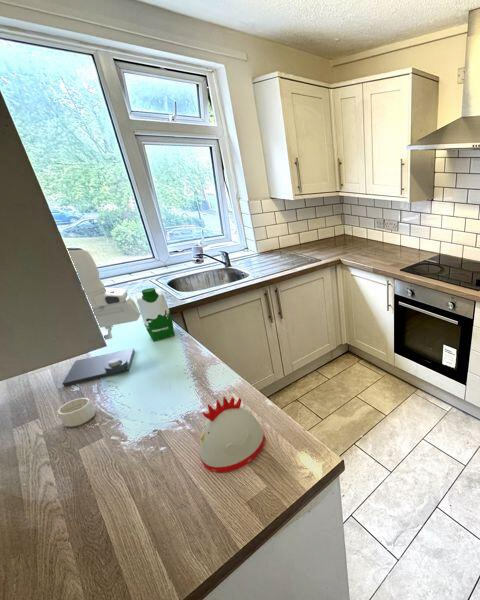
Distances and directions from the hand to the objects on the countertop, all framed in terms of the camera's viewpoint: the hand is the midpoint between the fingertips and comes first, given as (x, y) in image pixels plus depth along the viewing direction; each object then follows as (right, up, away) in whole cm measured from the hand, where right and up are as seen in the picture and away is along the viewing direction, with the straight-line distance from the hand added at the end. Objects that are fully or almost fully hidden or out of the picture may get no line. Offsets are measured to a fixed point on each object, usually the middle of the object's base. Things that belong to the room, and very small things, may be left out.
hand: (106, 338), depth 103 cm
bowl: (+6, -20, -15) cm, 26 cm away
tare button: (0, -9, +4) cm, 10 cm away
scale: (-7, -10, +7) cm, 14 cm away
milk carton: (-1, -2, +27) cm, 27 cm away
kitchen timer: (+52, -24, -23) cm, 62 cm away
